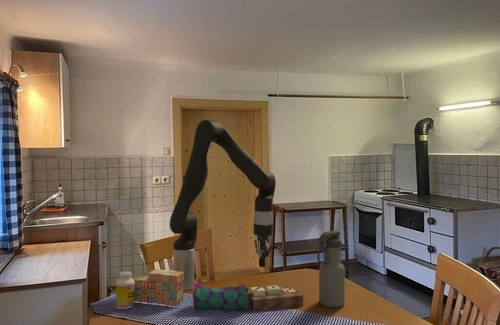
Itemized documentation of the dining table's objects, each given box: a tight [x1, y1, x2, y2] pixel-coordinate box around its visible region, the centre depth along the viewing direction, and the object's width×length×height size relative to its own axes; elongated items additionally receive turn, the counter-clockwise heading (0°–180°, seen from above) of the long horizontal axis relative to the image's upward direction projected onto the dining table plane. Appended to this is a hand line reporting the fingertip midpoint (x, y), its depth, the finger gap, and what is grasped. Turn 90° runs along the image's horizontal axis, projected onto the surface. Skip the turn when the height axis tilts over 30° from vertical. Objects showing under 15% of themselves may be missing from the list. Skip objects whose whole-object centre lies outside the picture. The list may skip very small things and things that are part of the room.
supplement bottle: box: [115, 270, 135, 310], centre depth 142 cm, size 7×7×13 cm
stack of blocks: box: [131, 268, 184, 306], centre depth 147 cm, size 21×6×12 cm, turn 75°
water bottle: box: [316, 230, 346, 309], centre depth 148 cm, size 10×10×28 cm
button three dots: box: [250, 285, 265, 297], centre depth 146 cm, size 4×4×3 cm
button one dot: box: [265, 284, 281, 295], centre depth 148 cm, size 4×4×3 cm
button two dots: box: [282, 288, 296, 294], centre depth 150 cm, size 4×4×3 cm
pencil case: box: [192, 281, 249, 311], centre depth 141 cm, size 21×9×10 cm, turn 91°
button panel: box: [247, 285, 304, 311], centre depth 148 cm, size 20×12×4 cm, turn 107°
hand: (261, 266), depth 148 cm, fingers closed
